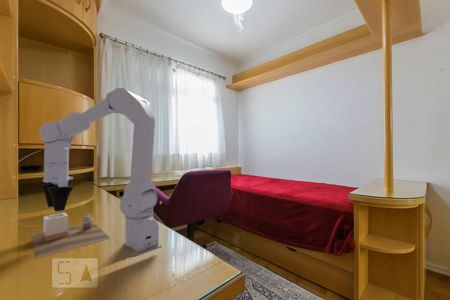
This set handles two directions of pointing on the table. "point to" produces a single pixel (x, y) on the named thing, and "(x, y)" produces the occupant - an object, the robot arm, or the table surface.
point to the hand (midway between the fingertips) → (56, 208)
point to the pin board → (69, 239)
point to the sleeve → (55, 226)
